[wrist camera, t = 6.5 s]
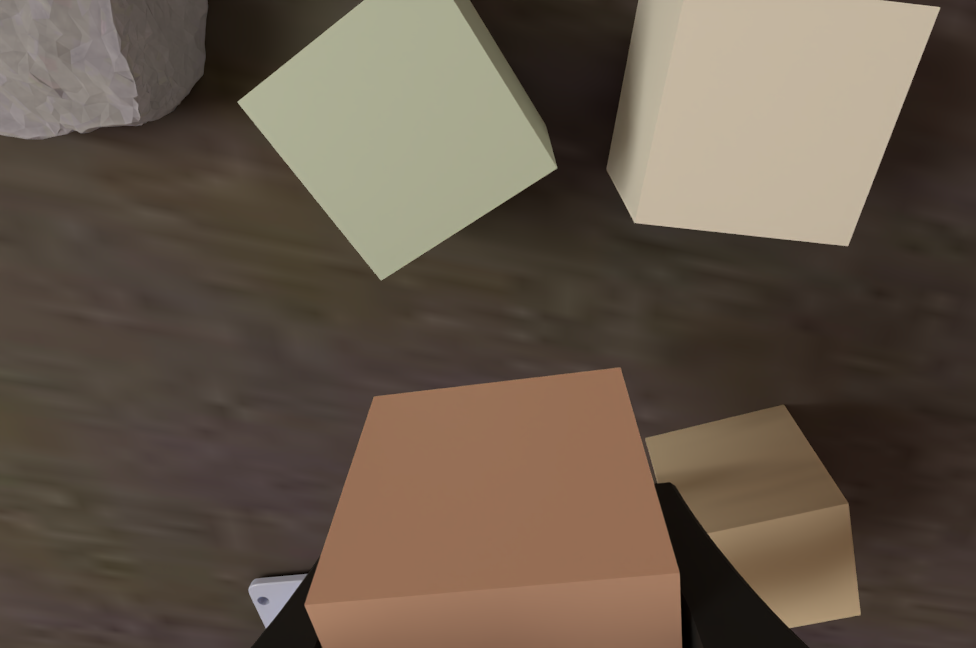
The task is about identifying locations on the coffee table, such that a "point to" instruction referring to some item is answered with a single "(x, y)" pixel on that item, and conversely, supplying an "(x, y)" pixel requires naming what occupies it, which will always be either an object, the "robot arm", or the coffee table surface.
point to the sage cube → (403, 125)
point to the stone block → (96, 63)
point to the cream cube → (762, 112)
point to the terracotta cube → (500, 524)
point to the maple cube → (767, 510)
